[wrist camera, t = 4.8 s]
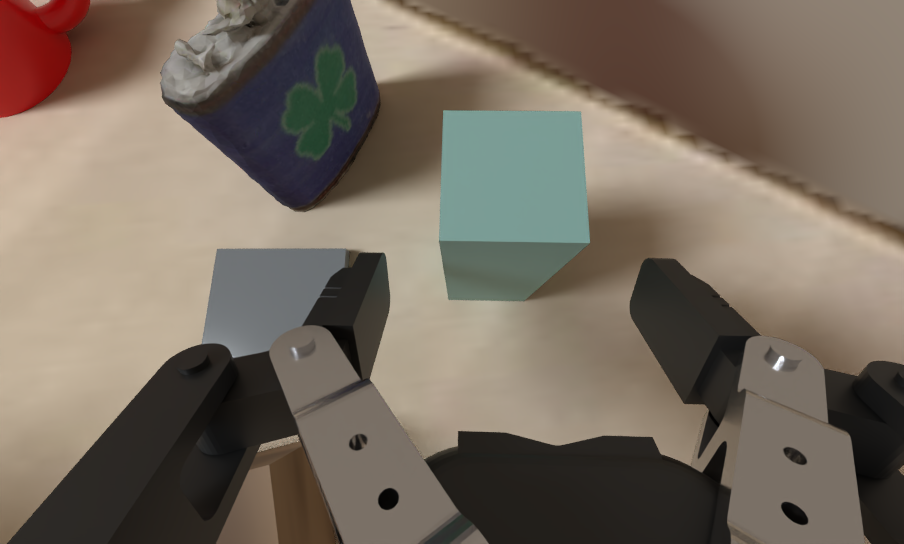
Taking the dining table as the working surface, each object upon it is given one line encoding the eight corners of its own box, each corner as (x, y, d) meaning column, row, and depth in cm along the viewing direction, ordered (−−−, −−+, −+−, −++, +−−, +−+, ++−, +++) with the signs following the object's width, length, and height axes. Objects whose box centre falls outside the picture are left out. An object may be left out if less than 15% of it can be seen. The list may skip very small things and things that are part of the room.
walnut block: (230, 577, 17) (136, 667, 12) (219, 462, 18) (130, 501, 13) (337, 548, 17) (288, 625, 12) (319, 435, 18) (269, 464, 13)
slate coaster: (211, 382, 19) (195, 384, 18) (230, 255, 21) (217, 248, 20) (343, 383, 19) (335, 385, 18) (352, 254, 21) (345, 248, 20)
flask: (355, 79, 23) (269, -156, 12) (396, 98, 22) (342, -127, 12) (270, 200, 21) (85, 46, 11) (313, 223, 21) (164, 87, 10)
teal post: (448, 299, 19) (439, 240, 10) (450, 228, 20) (443, 110, 11) (523, 301, 19) (590, 243, 10) (522, 230, 20) (580, 111, 11)
